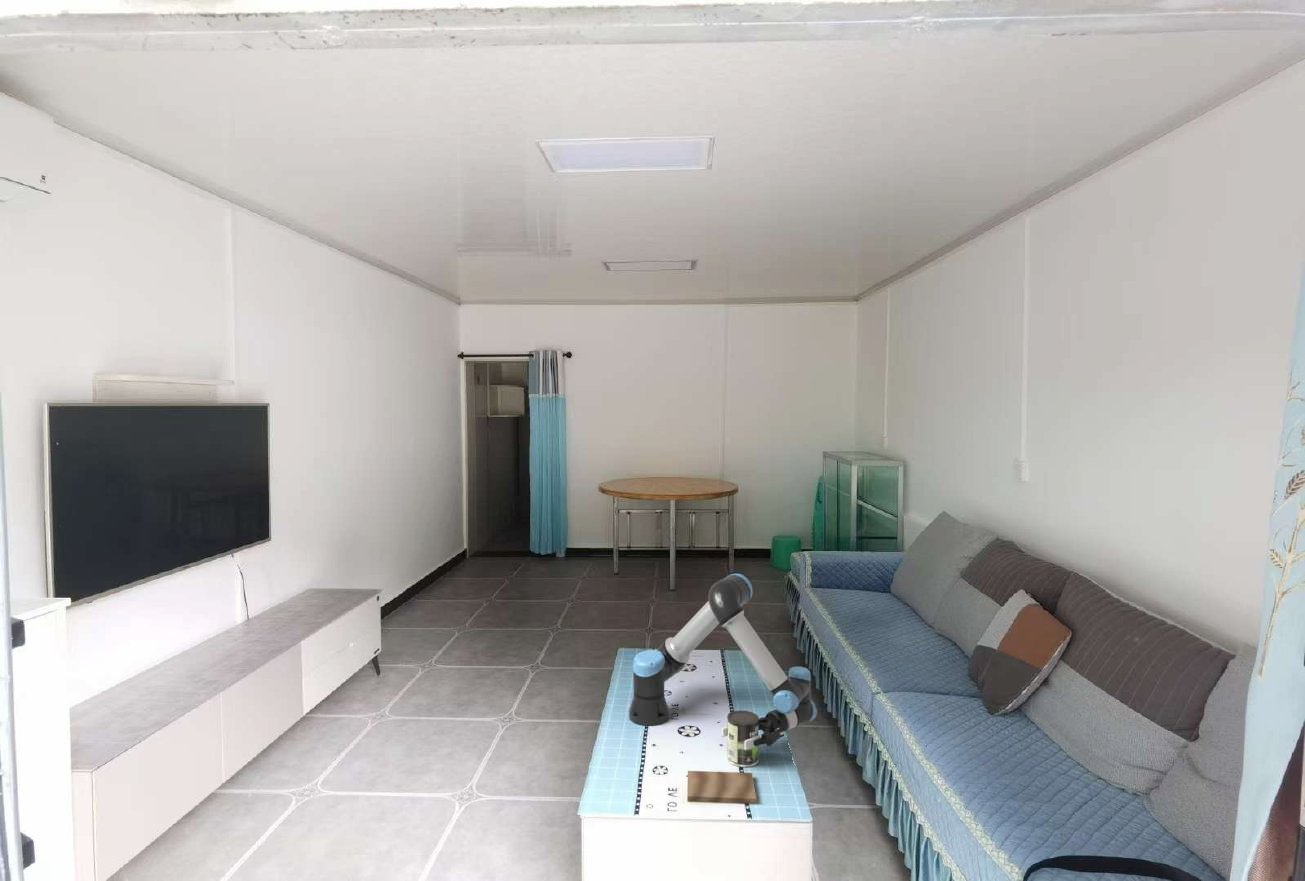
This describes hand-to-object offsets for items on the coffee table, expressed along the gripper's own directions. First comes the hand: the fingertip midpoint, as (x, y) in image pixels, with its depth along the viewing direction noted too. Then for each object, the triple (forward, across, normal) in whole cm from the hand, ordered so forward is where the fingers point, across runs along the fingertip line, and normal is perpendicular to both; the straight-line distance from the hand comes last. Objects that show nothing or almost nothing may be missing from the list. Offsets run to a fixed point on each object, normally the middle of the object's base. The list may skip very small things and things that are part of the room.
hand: (733, 738), depth 211 cm
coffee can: (-4, 0, -8) cm, 9 cm away
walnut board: (+13, -9, -8) cm, 18 cm away
